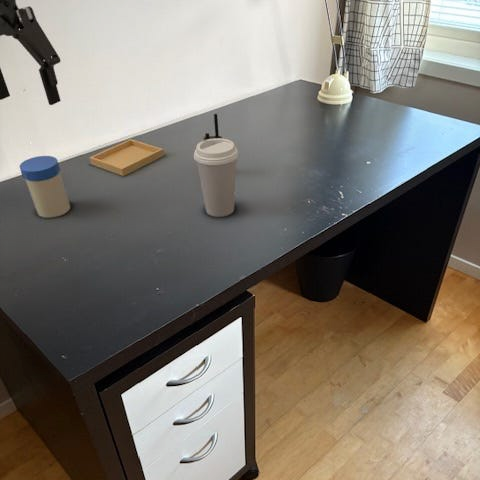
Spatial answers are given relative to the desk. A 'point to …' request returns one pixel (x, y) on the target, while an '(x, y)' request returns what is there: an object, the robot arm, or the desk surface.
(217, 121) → the walkie-talkie
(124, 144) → the tray
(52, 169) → the lid
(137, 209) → the desk surface
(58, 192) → the jar
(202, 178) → the coffee cup
